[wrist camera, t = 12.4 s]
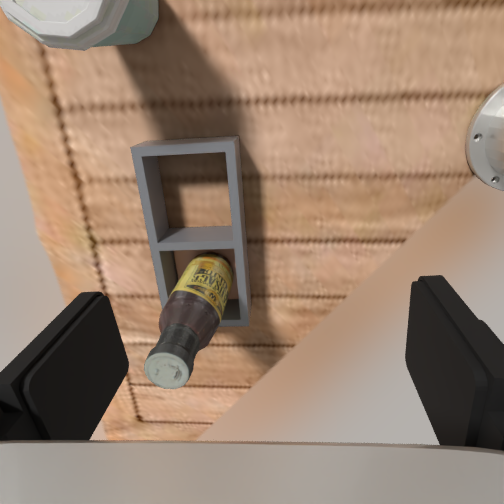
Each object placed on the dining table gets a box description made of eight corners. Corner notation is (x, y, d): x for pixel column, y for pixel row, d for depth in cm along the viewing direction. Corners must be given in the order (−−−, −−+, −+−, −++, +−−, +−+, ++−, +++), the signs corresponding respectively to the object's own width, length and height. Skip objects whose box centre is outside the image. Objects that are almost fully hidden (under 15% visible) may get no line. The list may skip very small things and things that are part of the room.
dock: (238, 135, 41) (234, 141, 37) (251, 304, 51) (248, 326, 46) (146, 140, 42) (130, 147, 38) (175, 306, 52) (165, 327, 47)
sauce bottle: (244, 271, 48) (224, 381, 30) (211, 297, 50) (174, 414, 32) (210, 237, 46) (167, 332, 28) (177, 265, 49) (118, 370, 30)
